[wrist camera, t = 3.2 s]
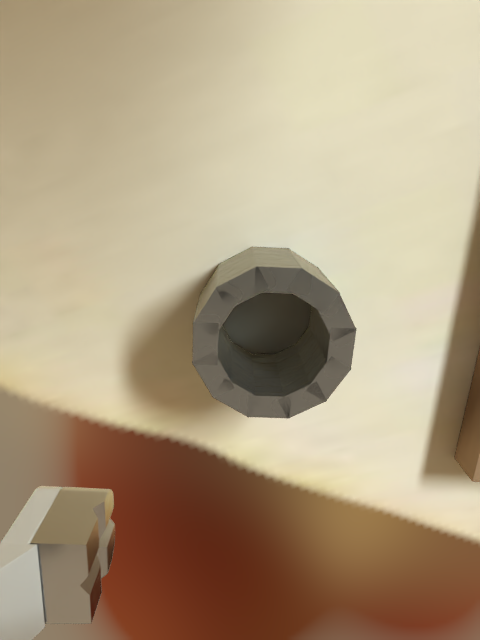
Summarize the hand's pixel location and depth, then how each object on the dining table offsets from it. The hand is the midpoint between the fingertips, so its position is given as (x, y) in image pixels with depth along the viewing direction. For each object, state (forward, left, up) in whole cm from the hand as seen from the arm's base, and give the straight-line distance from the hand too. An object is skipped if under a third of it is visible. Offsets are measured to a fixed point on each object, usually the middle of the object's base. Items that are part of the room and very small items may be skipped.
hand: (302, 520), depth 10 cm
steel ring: (0, 0, -13) cm, 13 cm away
